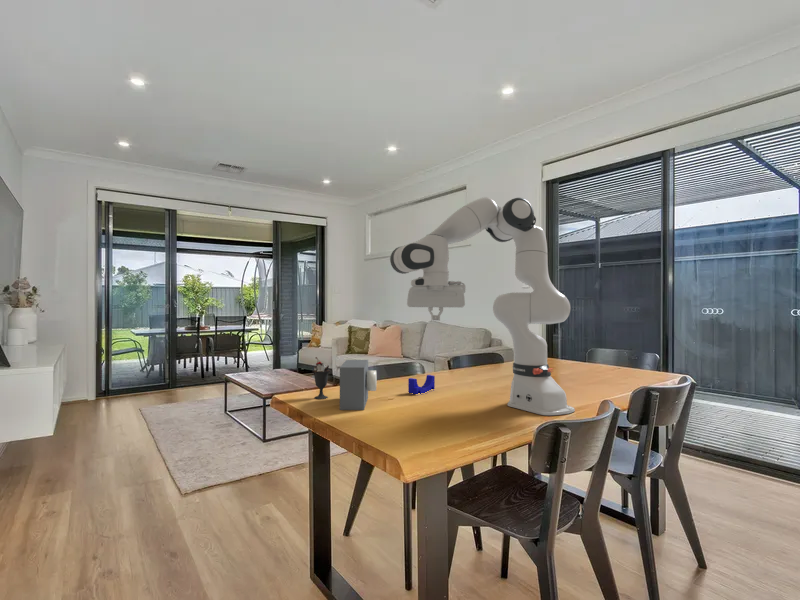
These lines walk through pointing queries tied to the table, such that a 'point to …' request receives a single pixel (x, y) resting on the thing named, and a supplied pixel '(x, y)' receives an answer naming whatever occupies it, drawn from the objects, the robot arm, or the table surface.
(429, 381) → the blue u-shaped block
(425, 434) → the table surface
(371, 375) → the knob
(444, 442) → the table surface
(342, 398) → the block
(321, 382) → the sundae
